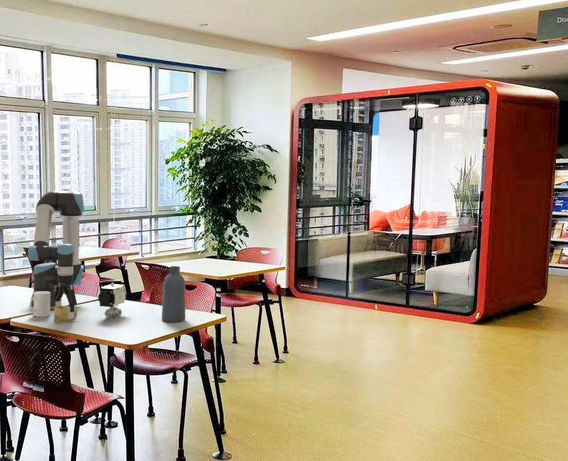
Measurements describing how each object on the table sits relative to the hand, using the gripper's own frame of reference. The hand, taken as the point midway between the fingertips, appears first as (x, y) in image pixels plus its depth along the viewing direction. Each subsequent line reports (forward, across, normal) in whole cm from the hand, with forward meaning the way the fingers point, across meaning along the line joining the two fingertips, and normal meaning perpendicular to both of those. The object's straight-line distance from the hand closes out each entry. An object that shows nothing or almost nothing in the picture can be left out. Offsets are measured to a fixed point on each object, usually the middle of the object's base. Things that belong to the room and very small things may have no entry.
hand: (64, 316), depth 313 cm
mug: (+2, -18, -5) cm, 19 cm away
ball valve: (+2, +6, +24) cm, 25 cm away
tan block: (+2, 0, 0) cm, 2 cm away
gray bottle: (+2, +32, +44) cm, 54 cm away
